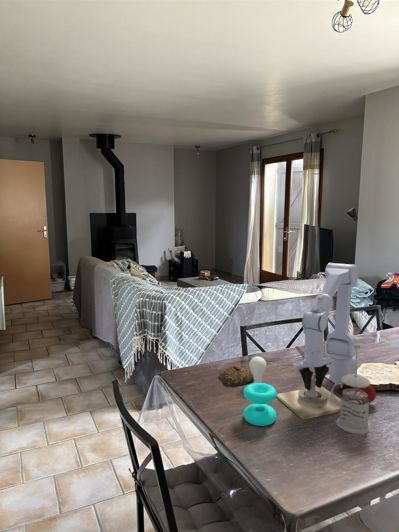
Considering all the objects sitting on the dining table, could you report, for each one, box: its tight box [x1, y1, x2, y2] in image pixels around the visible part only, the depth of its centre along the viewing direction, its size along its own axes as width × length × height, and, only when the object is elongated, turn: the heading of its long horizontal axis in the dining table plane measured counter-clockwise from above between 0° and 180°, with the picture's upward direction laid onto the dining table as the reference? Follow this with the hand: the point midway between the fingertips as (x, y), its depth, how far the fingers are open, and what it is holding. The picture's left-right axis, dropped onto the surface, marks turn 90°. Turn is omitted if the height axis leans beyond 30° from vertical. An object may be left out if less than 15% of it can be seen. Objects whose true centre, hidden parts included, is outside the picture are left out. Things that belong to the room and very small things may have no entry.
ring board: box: [276, 385, 352, 420], centre depth 133 cm, size 18×16×3 cm
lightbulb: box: [248, 356, 267, 383], centre depth 146 cm, size 6×6×11 cm
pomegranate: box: [356, 384, 377, 404], centre depth 132 cm, size 6×6×8 cm
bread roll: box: [219, 365, 254, 387], centre depth 154 cm, size 13×12×5 cm
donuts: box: [243, 382, 278, 427], centre depth 123 cm, size 10×10×10 cm
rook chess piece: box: [305, 374, 318, 399], centre depth 134 cm, size 4×4×8 cm
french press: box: [330, 343, 372, 435], centre depth 119 cm, size 10×12×25 cm
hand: (312, 387), depth 133 cm, fingers open, 4 cm apart
